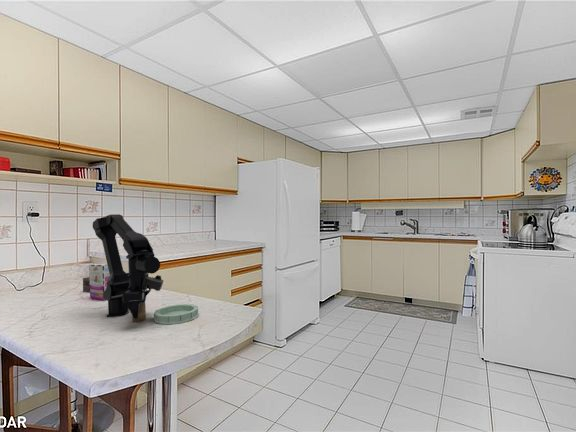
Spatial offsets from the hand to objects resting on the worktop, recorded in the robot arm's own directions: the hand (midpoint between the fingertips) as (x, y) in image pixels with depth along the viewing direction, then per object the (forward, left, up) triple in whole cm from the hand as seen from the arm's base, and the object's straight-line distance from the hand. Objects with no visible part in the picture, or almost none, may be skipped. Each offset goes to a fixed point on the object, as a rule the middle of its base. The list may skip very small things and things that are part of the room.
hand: (138, 314), depth 115 cm
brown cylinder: (0, 0, -2) cm, 2 cm away
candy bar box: (-25, +42, -2) cm, 49 cm away
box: (-36, +63, -2) cm, 73 cm away
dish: (+13, -1, -2) cm, 13 cm away
